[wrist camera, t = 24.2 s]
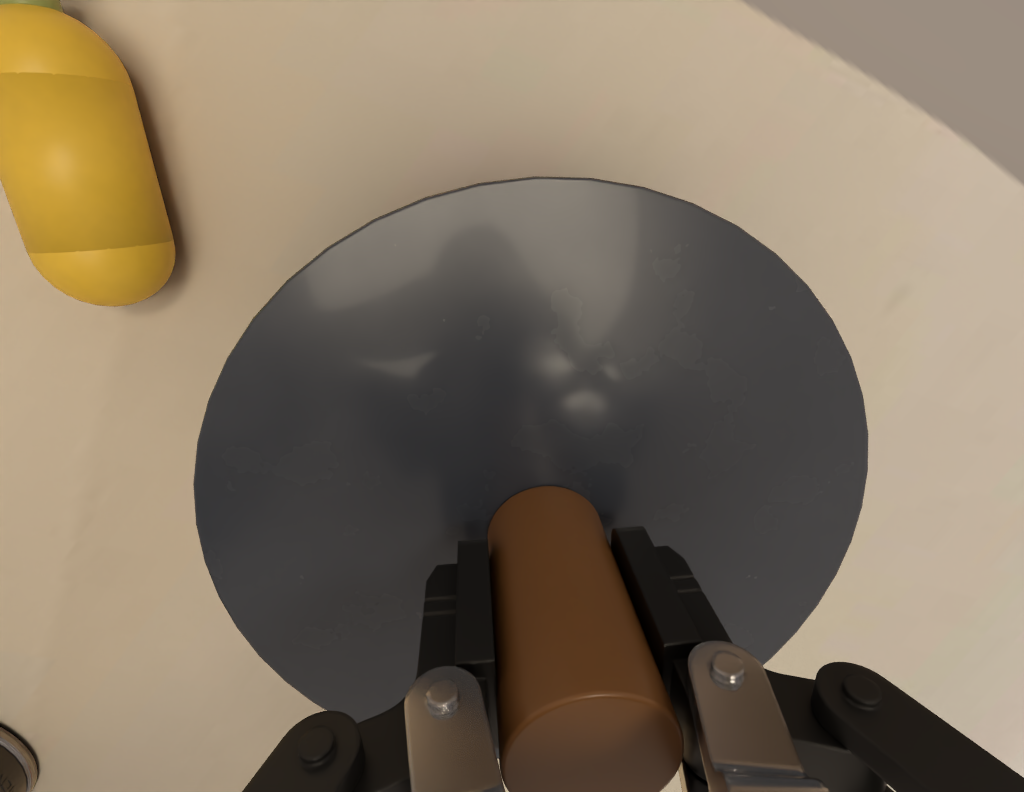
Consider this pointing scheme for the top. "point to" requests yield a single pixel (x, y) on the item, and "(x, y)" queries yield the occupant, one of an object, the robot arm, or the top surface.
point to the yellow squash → (78, 160)
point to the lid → (530, 457)
